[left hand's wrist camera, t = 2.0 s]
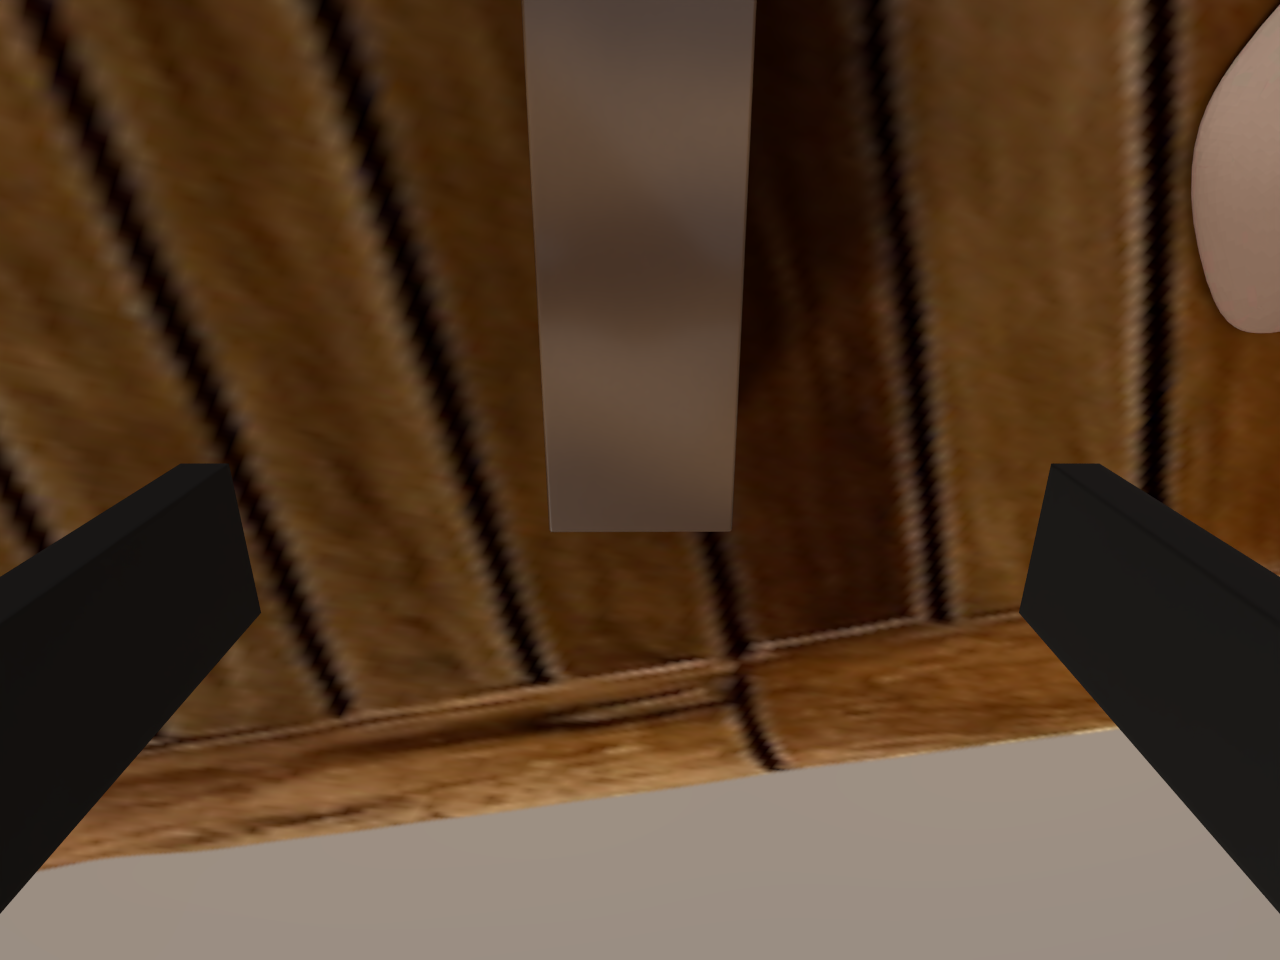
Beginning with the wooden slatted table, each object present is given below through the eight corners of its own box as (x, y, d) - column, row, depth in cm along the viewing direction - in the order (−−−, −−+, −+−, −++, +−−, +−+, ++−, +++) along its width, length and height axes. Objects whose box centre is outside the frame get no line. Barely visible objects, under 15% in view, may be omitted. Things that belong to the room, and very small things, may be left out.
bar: (707, 439, 28) (732, 532, 21) (572, 439, 28) (549, 533, 21) (734, -404, 20) (792, -753, 12) (540, -404, 20) (480, -751, 12)
